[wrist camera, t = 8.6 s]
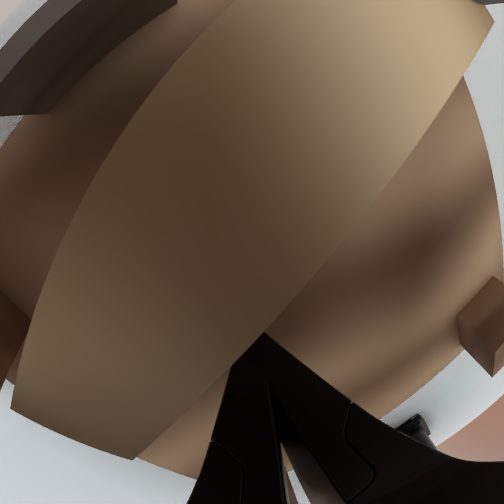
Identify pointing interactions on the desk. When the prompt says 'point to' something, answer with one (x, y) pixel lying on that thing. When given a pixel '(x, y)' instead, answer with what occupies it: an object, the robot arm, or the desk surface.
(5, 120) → the desk surface
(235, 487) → the robot arm
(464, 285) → the seat
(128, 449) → the hinged leg
